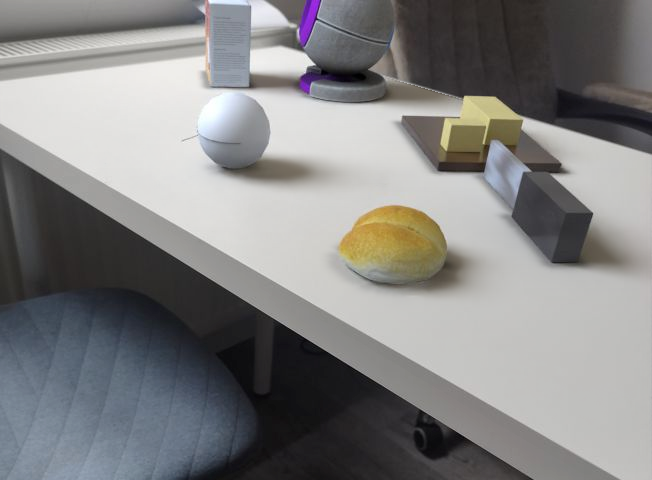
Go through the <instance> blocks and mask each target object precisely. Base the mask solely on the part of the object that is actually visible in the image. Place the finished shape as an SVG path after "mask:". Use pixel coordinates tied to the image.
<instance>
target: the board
mask: <svg viewBox="0 0 652 480" xmlns="http://www.w3.org/2000/svg"><path fill="white" fill-rule="evenodd" d="M445 118H460V116H445V115H443V116H440V115H439V116H438V115H437V116H436V115H402V116H401V119H400V121H401V122H400V124H401V125H402V126H403V128H405V130H406V132H407V134H409V135H410V137H411V138H412V139H413V140H414V142H415V143H416V145H417V146H418V147H419V148H420V150H421V151H422V152H423V153H424V155H425V156H426V157H427V159H428V160H429V162H430V163H431V164H432V165H433V166H434V168H435V169H436V170H437V171H439V172H440V171H441V172H442V171H446V172H449V171H450V172H484V171H485V166H486V162H487V158H488V153H489V149H490V145H484V144H482V148H481V152H446V150H445V149H444V148H443V147H442V146H441V145H440V143H441V138H442V132H443V127H444V121H445ZM504 146H505V147H506V148H507V149H508V150H509V151H511V152H512V153H513V154H514V155H515V156H516V157H517V158H518V159H519V160H520V161H521V162H522V163H523V164H524V165H525V166H527V167H528V168H529V169H530V170H531V171H532V172H548V173H560V172H561V170H562V169H561V168H562V165H563V163H562V162H561V161H560V160H558V159H557V158H556V157H555V156H554V155H552V154H551V153H550V152H549V151H548V150H547V149H545V148H544V147H543V146H541V144H540V143H538V142H537V141H536V140H535V139H533V137H531V136H530V135H528V134H527V133H526V132H525V131H524V130H522V129H521V131H520V135H519V139H518V143H517V145H504Z"/></svg>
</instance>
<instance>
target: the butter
mask: <svg viewBox="0 0 652 480" xmlns="http://www.w3.org/2000/svg"><path fill="white" fill-rule="evenodd" d="M459 117H460V118H463V119H480V120H481V121H482V122H483V123H484V124H485V125H486V130H485V134H484V139H483V144H484V145H490V144H491V140H499V141H500V142H501V143H502V144H503V145H517V143H518V139H519V135H520V131H521V130H522V127H523V123H524V119H523V117H522V116H520V115H518V113H516V112H515V111H513V110H512V109H511V108H510V107H509V106H507V105H506V104H505V103H504V102H502V101H501V100H500V99H498V98H497V97H496V96H482V95H464V96H463V100H462V106H461V110H460V116H459Z"/></svg>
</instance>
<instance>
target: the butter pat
mask: <svg viewBox="0 0 652 480" xmlns="http://www.w3.org/2000/svg"><path fill="white" fill-rule="evenodd" d="M485 130H486V125H485V124H484V123H483V122H482V121H481V120H480V119H463V118H445V121H444V127H443V132H442V138H441V143H440V145H441V146H442V147H443V148H444V149H445V150H446V152H481V148H482V144H483V139H484V134H485Z"/></svg>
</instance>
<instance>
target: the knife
mask: <svg viewBox="0 0 652 480" xmlns="http://www.w3.org/2000/svg"><path fill="white" fill-rule="evenodd" d="M483 178H484V180H485V181H486V182H487V183H488V184H489V185H490V186H491V187H492V188H493V189H494V190H495V192H496V193H497V194H498V195H499V197H501V199H502V200H504V201H505V203H506V204H507V205H508V206H509V207H510V208H511V209H512V213H511V218H512V220H514V222H515V223H516V224H517V225H518V227H520V229H521V230H522V231H523V232H524V233H525V234H526V236H527V237H529V238H530V240H531V241H532V242H533V243H534V244H535V245H536V247H537V248H538V249H539V251H541V252H542V253H543V255H544V256H545V257H546V258H547V259H548V260H549V261H550V263H578V262H579V259H580V256H581V253H582V250H583V247H584V244H585V241H586V238H587V235H588V233H589V229H590V225H591V224H592V223H591V222H592V220H593V216H594V212H593V211H592V210H591V209H590V208H589V207H587V206H586V205H585V204H584V203H583V202H582V201H580V199H578V198H577V197H576V196H575V195H574V194H573V193H572V192H571V191H570V190H569V189H567V188H566V186H564V185H563V184H562V183H560V181H559V180H558V179H556V178H555V177H554V176H553V175H552V174H551V173H550V172H532V171H531V170H530V169H529V168H528V167H527V166H525V165H524V164H523V163H522V162H521V161H520V160H519V159H518V158H517V157H516V156H515V155H514V154H513V153H512V152H511V151H509V150H508V149H507V148H506V147H505V146H504V145H503V144H502V143H501V142H500V141H499V140H491V144H490V149H489V153H488V158H487V162H486V166H485V171H483Z"/></svg>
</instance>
